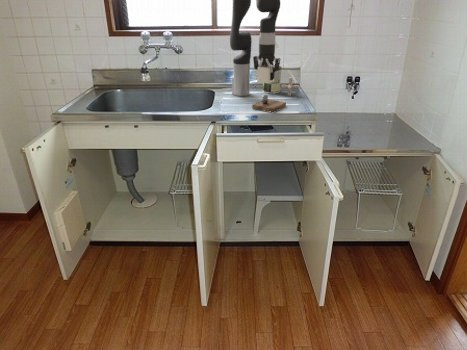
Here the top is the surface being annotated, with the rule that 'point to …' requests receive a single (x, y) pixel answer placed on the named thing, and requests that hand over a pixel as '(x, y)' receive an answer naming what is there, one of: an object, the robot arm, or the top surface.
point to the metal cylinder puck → (265, 99)
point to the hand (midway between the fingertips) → (265, 79)
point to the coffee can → (273, 84)
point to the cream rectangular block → (264, 74)
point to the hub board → (269, 105)
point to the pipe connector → (289, 86)
